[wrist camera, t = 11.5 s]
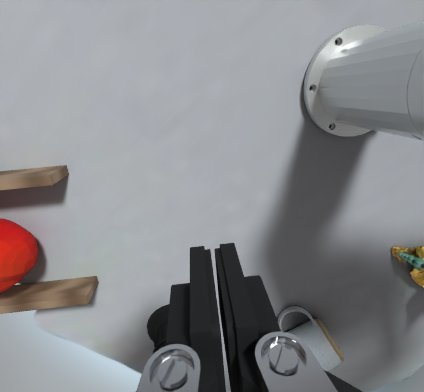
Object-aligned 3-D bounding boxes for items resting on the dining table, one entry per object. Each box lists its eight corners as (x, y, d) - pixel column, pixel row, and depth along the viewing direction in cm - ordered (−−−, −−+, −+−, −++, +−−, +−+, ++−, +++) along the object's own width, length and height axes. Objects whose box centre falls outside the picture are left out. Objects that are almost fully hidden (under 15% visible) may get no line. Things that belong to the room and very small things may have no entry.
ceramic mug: (331, 332, 49) (355, 373, 42) (292, 354, 50) (308, 397, 43) (304, 294, 46) (325, 330, 39) (263, 317, 47) (275, 357, 40)
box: (66, 165, 35) (49, 175, 31) (98, 282, 42) (88, 303, 38) (-73, 178, 35) (-109, 190, 30) (-18, 295, 41) (-42, 318, 37)
